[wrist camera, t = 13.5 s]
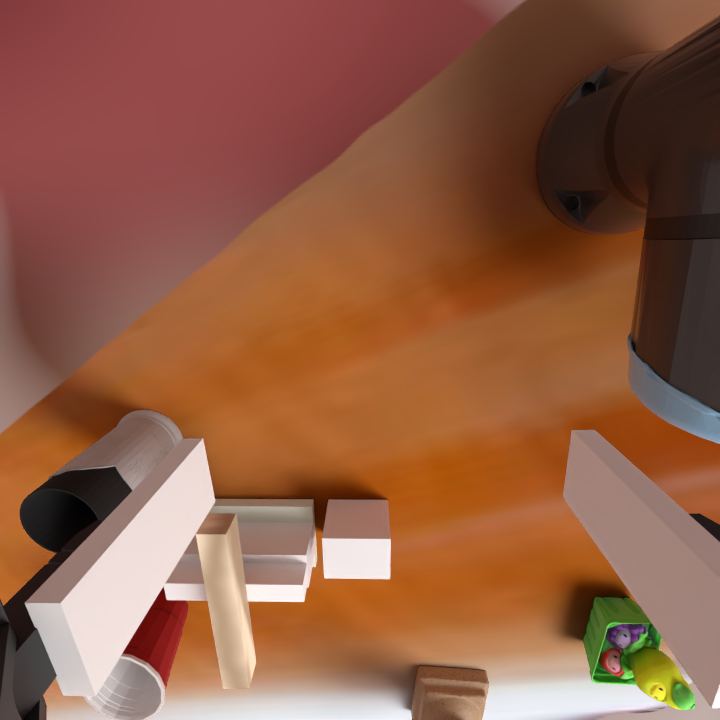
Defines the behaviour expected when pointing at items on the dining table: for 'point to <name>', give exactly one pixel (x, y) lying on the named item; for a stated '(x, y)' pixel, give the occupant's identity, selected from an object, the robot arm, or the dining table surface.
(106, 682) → the plastic cup
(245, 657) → the birch batten
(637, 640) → the fruit basket
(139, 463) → the glass holder
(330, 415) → the dining table surface
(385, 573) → the rest block
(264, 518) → the ridge stand
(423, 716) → the candle holder
